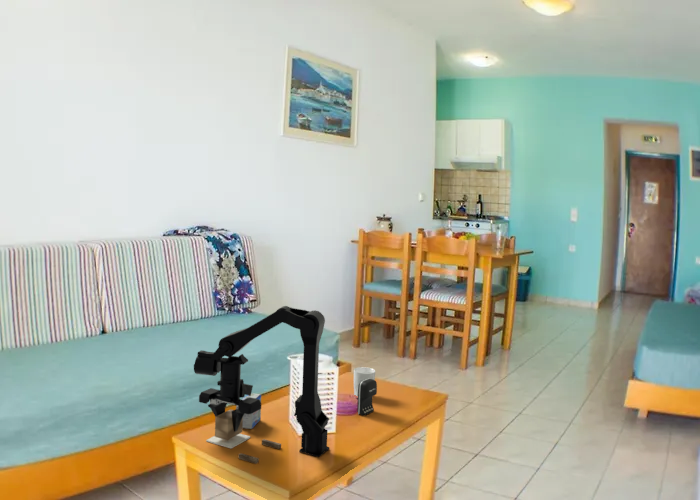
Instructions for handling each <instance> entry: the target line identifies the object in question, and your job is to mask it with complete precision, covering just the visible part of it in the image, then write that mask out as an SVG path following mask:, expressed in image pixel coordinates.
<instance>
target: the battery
mask: <svg viewBox="0 0 700 500" xmlns="http://www.w3.org/2000/svg"><path fill="white" fill-rule="evenodd" d="M377 392H378V382H377V381H376V380H373V379H370V378H367V379H364V380H362V381H360V382H359V385H358V399H357V407H356V409H357V412H358V414H357V415H359V414H361V416H368V415H370V414H372V413H374V411H375V410H374V409H375V408H374V405H373V397H374V396H376V395H377ZM357 412H356V413H357ZM369 413H370V414H369ZM367 414H368V415H367Z"/></svg>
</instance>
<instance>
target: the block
mask: <svg viewBox="0 0 700 500" xmlns="http://www.w3.org/2000/svg"><path fill="white" fill-rule="evenodd" d="M233 410H234V409H229V410H225V412H224V413H222V414H220V415H218V416H216V417H215V416H214V417H215V419H214V420H215V421H214V423H215V424H214V425H215V426H214V436H215V437H217V438H221V439H225V440H229V439H231V438H232V437H234V436H236V435H238V434H242V433H243V428H242V427H243V418H242V420H241V423H240V425H239V428H238V430H237V431H236V432H235V431H234V429H233V421H232V412H231V411H233Z"/></svg>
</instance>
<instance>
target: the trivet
mask: <svg viewBox="0 0 700 500" xmlns="http://www.w3.org/2000/svg"><path fill="white" fill-rule="evenodd" d="M250 438H251V436H250V435H246V434H242V433H240V434H238V435H236V436H234V437H232V438H231V439H229V440H225V439H221V438H217V437H215V435H213V436H211V437H210V438H208V439H206V440H205V441H206V442H207V443H210V444H213V445H217V446H221V447H224V448H228V449H233V448H235V447H237V446H238V445H240V444H242V443H244V442H245V441H247V440H249V439H250Z"/></svg>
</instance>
